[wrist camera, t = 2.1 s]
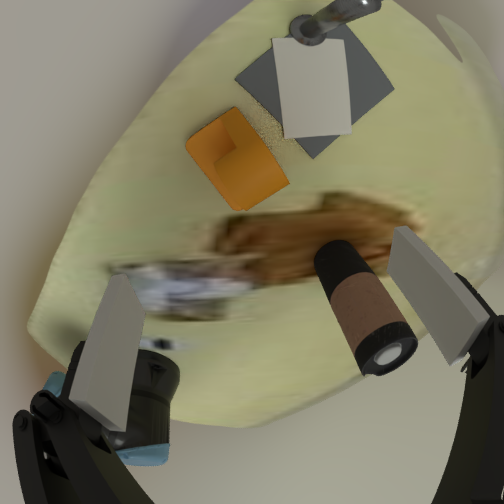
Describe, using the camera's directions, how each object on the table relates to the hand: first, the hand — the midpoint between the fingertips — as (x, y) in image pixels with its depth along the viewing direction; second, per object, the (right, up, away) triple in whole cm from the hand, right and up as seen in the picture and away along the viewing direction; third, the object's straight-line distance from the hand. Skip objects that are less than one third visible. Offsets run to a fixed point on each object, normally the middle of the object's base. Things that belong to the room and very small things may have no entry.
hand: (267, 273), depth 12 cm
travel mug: (+12, 0, +30) cm, 33 cm away
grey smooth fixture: (+7, +28, +10) cm, 30 cm away
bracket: (-3, +13, +20) cm, 24 cm away
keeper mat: (+7, +22, +15) cm, 27 cm away
